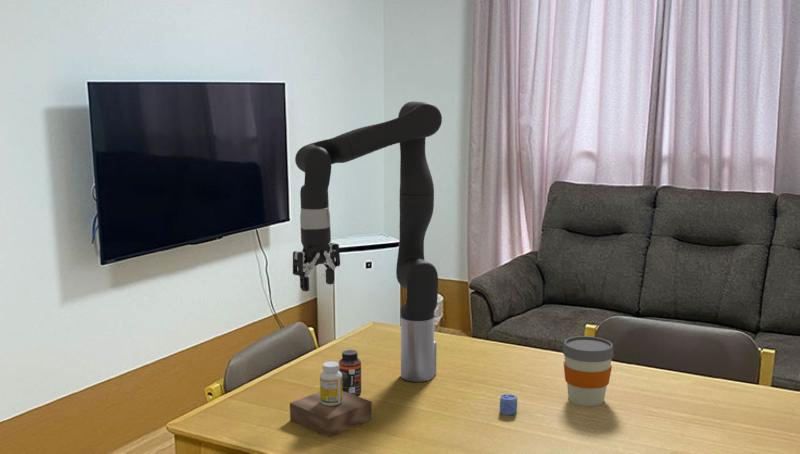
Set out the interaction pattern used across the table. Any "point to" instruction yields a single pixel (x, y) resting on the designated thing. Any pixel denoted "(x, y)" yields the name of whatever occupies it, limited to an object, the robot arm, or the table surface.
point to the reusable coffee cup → (587, 369)
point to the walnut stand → (330, 413)
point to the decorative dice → (508, 404)
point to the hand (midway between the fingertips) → (317, 287)
